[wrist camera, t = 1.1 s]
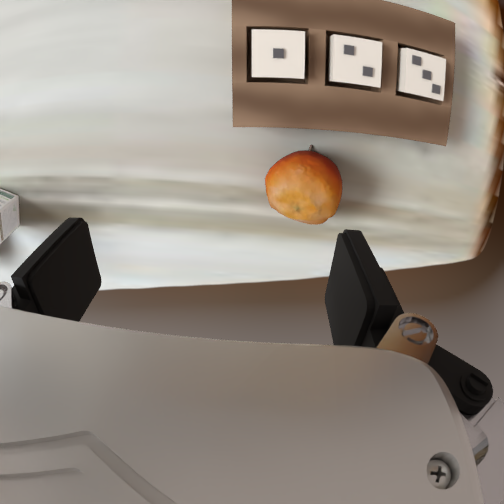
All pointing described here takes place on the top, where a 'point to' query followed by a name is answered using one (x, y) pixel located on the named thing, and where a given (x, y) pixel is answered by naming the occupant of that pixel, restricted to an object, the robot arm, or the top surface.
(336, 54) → the button
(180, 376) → the robot arm
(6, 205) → the syrup box
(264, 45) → the button
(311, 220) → the fruit
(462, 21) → the top surface
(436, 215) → the top surface
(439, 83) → the button
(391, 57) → the wooden slot board
